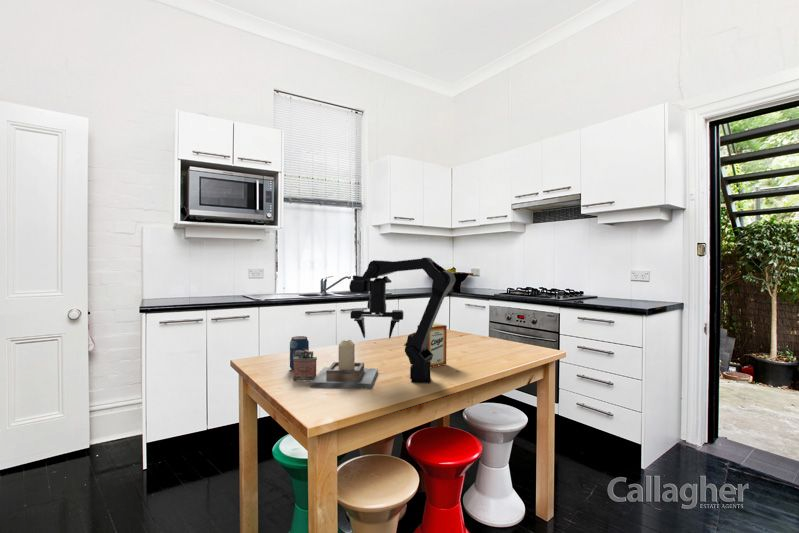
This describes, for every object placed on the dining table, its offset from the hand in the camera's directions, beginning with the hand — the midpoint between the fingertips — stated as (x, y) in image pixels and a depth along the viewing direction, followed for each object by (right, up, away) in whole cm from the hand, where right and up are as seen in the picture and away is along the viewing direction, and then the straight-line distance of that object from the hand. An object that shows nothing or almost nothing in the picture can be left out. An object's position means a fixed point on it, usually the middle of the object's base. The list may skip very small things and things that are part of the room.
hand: (377, 338), depth 143 cm
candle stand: (-10, -13, -6) cm, 18 cm away
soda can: (-30, -13, +6) cm, 33 cm away
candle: (-10, -10, -6) cm, 15 cm away
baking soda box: (+21, -13, +14) cm, 28 cm away
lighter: (-25, -13, -6) cm, 29 cm away
